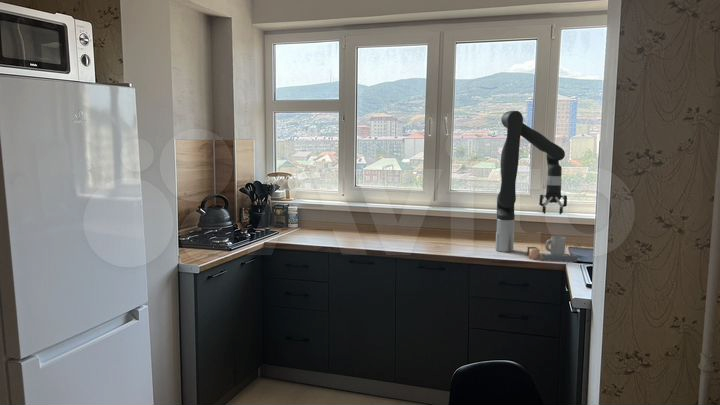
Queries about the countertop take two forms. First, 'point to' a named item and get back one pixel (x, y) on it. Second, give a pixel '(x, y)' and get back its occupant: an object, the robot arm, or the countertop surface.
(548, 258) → the stand
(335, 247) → the countertop surface
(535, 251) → the tan rounded lump
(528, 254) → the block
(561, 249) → the cup
